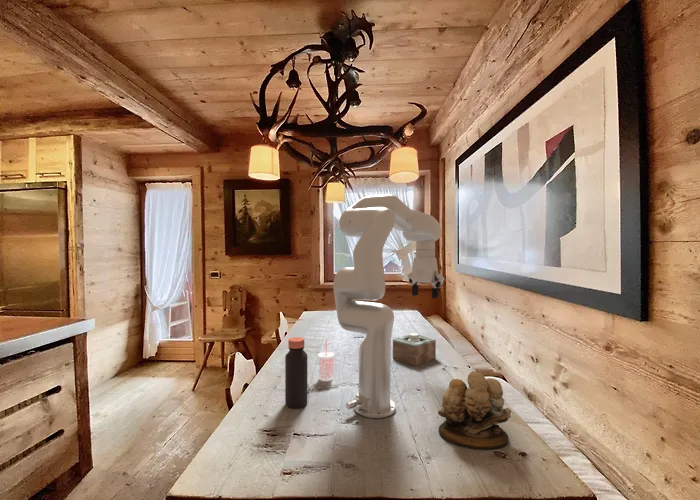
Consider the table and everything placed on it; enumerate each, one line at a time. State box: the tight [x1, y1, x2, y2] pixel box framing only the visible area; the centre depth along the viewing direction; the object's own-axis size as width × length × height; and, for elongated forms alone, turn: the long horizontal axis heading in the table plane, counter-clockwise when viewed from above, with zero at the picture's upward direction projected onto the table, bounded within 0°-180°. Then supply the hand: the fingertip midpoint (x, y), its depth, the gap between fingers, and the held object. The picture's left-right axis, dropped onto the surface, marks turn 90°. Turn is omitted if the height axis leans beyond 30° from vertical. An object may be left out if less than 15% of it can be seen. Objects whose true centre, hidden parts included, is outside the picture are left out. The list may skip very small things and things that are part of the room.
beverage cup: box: [317, 340, 335, 382], centre depth 120 cm, size 6×6×14 cm
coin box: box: [392, 334, 437, 367], centre depth 142 cm, size 14×12×8 cm
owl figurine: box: [437, 370, 513, 451], centre depth 84 cm, size 18×12×17 cm, turn 83°
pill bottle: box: [408, 332, 420, 343], centre depth 142 cm, size 5×5×10 cm
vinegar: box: [284, 336, 308, 410], centre depth 101 cm, size 7×7×20 cm
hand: (424, 296), depth 133 cm, fingers open, 9 cm apart
